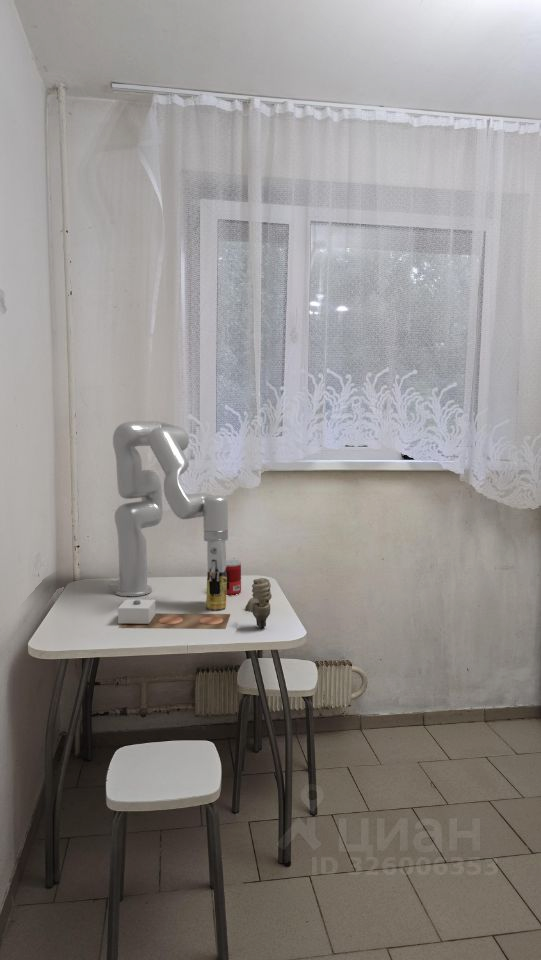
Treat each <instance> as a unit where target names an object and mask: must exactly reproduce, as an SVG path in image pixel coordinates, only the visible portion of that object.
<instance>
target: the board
mask: <svg viewBox="0 0 541 960" xmlns="http://www.w3.org/2000/svg"><path fill="white" fill-rule="evenodd" d="M230 617H231V613H170V612H169V613H167V612H166V613H165V612H164V613H161V612H160V613H158V612H156V614H155V616H154V617H153V619H152V620H151V622H150V623H149V624H133V623H120V625H119V626H118V627H117V628H118V629H171V630H172V629H173V630H174V629H176V630H177V629H179V630H183V629H184V630H185V629H187V630H191V629H192V630H193V629H194V630H199V629H200V630H226V629H227V626H228V624H229V620H230Z"/></svg>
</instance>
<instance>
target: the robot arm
mask: <svg viewBox="0 0 541 960" xmlns="http://www.w3.org/2000/svg"><path fill="white" fill-rule="evenodd" d="M189 443H190V438H189V435H188V432H187V431H186V430H185V429H184V428H182V427H181V426H178V425H175V424H170V423H166V422H161V421H156V420H155V421H154V420H147V421H146V420H136V421H135V420H134V421H125V422H122V423H121V424H119V425H118V426H116V428H115V429H114V432H113V435H112V446H113V450H114V455H115V460H116V462H115V463H116V478H117V479H116V480H117V491H118V494H119V496H120V497H121V498H123V499H127V500H128V499H129V500H130V499H140V498H141V501H134V502H133V501H132V502H126V503H123V504H121V505H120V506H118V507H117V508H116V510H115V512H114V522H115V526H116V531H117V540H118V543H117V544H118V572H119V573H118V574H119V575H118V576H119V579H117V580H113V579H112V580H110V579H108V580H107V587H110V588H111V587H112V588H114V587H115V588H116V589H115V590H114V592H115V595H117V596H120V597H127V596H130V597H131V596H132V597H139V596H140V595H141V596H145V594H146V595H148V593H149V594H150V593H152V590H153V588H152V586H150V585H149V584H148V561H147V560H148V557H147V556H148V553H147V541H146V538H145V535H144V533H143V531H142V529H147V528H151V527H155V526H158V525H159V524H160V523H161V521H162V518H163V493H162V492H164V497H165V500H166V501H167V504H168V506H169V508H170V509H171V510H172V512H173V513H174V515H175V516H176V517H177V518H179V519H181V520H189V519H196V518H201V517H202V518H203V541H204V542H207V543H206V544H207V545H206V546H207V551H206V552H207V555H206V557H207V573H208V572H209V573H210V581H209V593H210V594H220V581H219V572H221V573H223V572H224V571H225V569H226V560H227V552H226V549H227V547H226V545H227V544H226V541H228V540H229V528H228V527H229V517H228V515H229V514H228V507H229V506H228V498H227V497H226V496H224V495H219V494H218V495H216V494H215V495H213V494H211V493H206V492H200V493H191V494H185V491H184V490H183V488H182V487H181V484H180V481H179V480H180V479H179V478H180V476H181V475H182V474H184V473H185V472H186V471H187V470H188V469H189V466H190V462H189V460H188V459H187V457H186V455H185V453H184V451H185V450H186V449H187V448H188V446H189ZM136 447H150V449H151V451H152V453H153V454H154V456H155V458H156V459H157V461H158V463H159V465H160V467H161V469H162V471H163V473H164V475H165V477H164V479H163V480H164V481H163V489H162V482H161V479H160V477H159V475H158V473H156V472H155V471H154V470H151V469H143V466H142V465H143V464H142V457H141V454H140V453H139V451H138V449H137V448H136ZM214 550H215V551H214ZM216 563H217V565H216ZM216 574H217V575H216Z"/></svg>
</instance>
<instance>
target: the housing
mask: <svg viewBox="0 0 541 960" xmlns="http://www.w3.org/2000/svg"><path fill="white" fill-rule="evenodd" d="M156 613H157V611H156V599H125V600H124V601H123V602H122V603H121V604H120V606H119V607H118V608H117V623H118V624H121V623H133V624H149V623H150V622H151V620H152V619H153V617H154V616H155V614H156Z"/></svg>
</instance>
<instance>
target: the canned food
mask: <svg viewBox="0 0 541 960" xmlns="http://www.w3.org/2000/svg"><path fill="white" fill-rule="evenodd" d="M226 575H227V585H226V595H234V596H237V595H236V594H238V595H240V594H241V592H242V563H241V561H240V560H238V559H237V560H236V559H226ZM239 593H240V594H239Z"/></svg>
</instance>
